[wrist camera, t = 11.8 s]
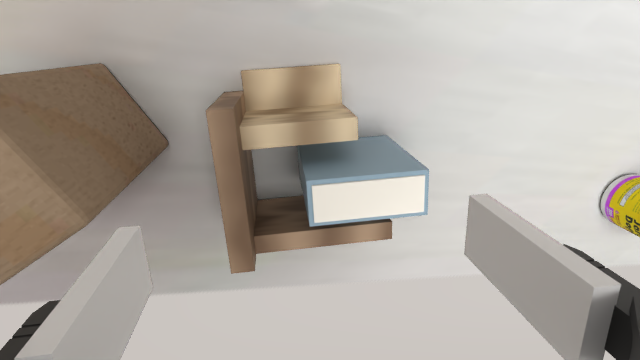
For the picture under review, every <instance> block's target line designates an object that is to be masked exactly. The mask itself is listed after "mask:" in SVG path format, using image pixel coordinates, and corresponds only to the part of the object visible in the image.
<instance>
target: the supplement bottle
mask: <svg viewBox="0 0 640 360" xmlns="http://www.w3.org/2000/svg"><path fill="white" fill-rule="evenodd" d="M601 210H602V213H603V215H604V216H605V217H606V218H607V219H608V220H609V221H611V222H613V223H614V224H616V225H618V226H620V227H622V228H624V229H625V230H627V231H629V232H631V233H633V234H635V235H637V236H639V237H640V175H637V174H630V175H625V176H622V177H620V178H618V179H616V180H615V181H614V182H612V183H611V184H610V185H609V186H608V187H607V189H606V190H605V192H604V194H603V196H602V199H601Z"/></svg>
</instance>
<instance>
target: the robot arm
mask: <svg viewBox="0 0 640 360" xmlns="http://www.w3.org/2000/svg"><path fill="white" fill-rule="evenodd" d="M464 254H465V255H466V256H467V257H468V259H469V260H470V261H471V262H472V263H473V264H474V265H475V266H476V267H477V268H478V269H479V270H480V271H481V272H482V273H483V274H484V275H485V276H486V277H487V279H488V280H489V281H490V282H491V283H492V284H493V285H494V286H495V287H496V288H497V289H498V290H499V291H500V292H501V293H502V294H503V295H504V296H505V297H506V298H507V299H508V301H509V302H510V303H511V304H512V305H513V306H514V307H515V308H516V309H517V310H518V311H519V312H520V313H521V314H522V315H523V316H524V317H525V318H526V320H527V321H528V322H529V323H530V324H531V325H532V326H533V327H534V328H535V329H536V330H537V331H538V332H539V333H540V334H541V335H542V336H543V337H544V338H545V339H546V340H547V341H548V343H549V344H550V345H551V346H552V347H553V348H554V349H555V350H556V351H557V352H558V353H559V354H560V355H561V356H562V357H563V358H564V359H565V360H603V357H604V353H605V350H606V351H607V352H609V353H610V354H611V355H612V356H613V357H614V358H616V360H640V289H639V288H637V287H635V286H634V285H632V284H631V283H629V282H628V281H626V280H625V279H623V278H622V277H620V276H619V275H617V274H616V273H614V272H613V271H611V270H610V269H608V268H605V266H603V265H602V264H600V263H599V262H597V261H594V259H593V258H591V257H590V256H588V255H587V254H585V253H584V252H582V251H580V250H577V249H575V248H572V247H570V246H568V245H565V244H564V245H562V244H561V243H559V242H558V241H556V240H555V239H553V238H552V237H550V236H549V235H547V234H546V233H544V232H543V231H541V230H540V229H538V228H537V227H535V226H534V225H532V224H531V223H529V222H528V221H527V220H525V219H524V218H522V217H521V216H519V215H518V214H516V213H515V212H513V211H512V210H510V209H509V208H507V207H506V206H504V205H503V204H501V203H500V202H498V201H497V200H495V199H494V198H492V197H491V196H489V195H488V194H479V195H469V206H468V218H467V229H466V240H465V252H464ZM152 289H153V285H152V280H151V275H150V270H149V266H148V261H147V256H146V251H145V247H144V242H143V237H142V232H141V228H140V225H139V226H128V227H119V228H118V229H117V230H116V231H115V233H114V234H113V235H112V236H111V238H110V239H109V240H108V242H107V243H106V244H105V245H104V247H103V248H102V249H101V250H100V252H99V253H98V254H97V255H96V257H95V258H94V259H93V260H92V262H91V263H90V264H89V265H88V267H87V268H86V269H85V270H84V272H83V273H82V274H81V275H80V277H79V278H78V279H77V280H76V282H75V283H74V284H73V285H72V287H71V288H70V289H69V290H68V292H67V293H66V294H65V296H64V297H63V298H62V299H61V300H57V301H49V302H48V303H46V304H45V305H43V306H42V307H41V308H39V309H38V310H36V311H35V312H33V313H32V314H31V315H30V317H29V318H28V319H27V320H26V321H25V323H24V324H23V325H22V328H19V329H18V331H17V332H16V333H15V334H14V335H13V338H12V339H10V340H9V341H8V342H7V343H6V345H5V346H4V347H3V348H2V349H1V350H0V360H120V359H121V357H122V355H123V352H124V350H125V348H126V346H127V344H128V341H129V339H130V337H131V335H132V332H133V331H134V328H135V326H136V324H137V322H138V320H139V317H140V315H141V313H142V311H143V309H144V307H145V304H146V302H147V300H148V298H149V296H150V293H151V291H152Z"/></svg>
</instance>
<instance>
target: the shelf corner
mask: <svg viewBox="0 0 640 360" xmlns="http://www.w3.org/2000/svg"><path fill="white" fill-rule="evenodd" d="M245 112H246V108H245V100H244V92H243V91H233V92H224V93H223V94H222V95H221V96H220V97H219V98H218V99H217V100H216V101H215V102H214V103H213V104H212V105H211V106H210V107H209V108H208V109H207V110H206V116H207V122H208V129H209V135H210V141H211V148H212V154H213V160H214V167H215V173H216V180H217V186H218V192H219V199H220V205H221V211H222V218H223V224H224V230H225V237H226V243H227V249H228V256H229V262H230V268H231V274H232V273H241V272H250V271H255V261H256V254H258V253H267V252H276V251H285V250H294V249H303V248H312V247H321V246H330V245H339V244H348V243H357V242H367V241H376V240H385V239H392V221H391V220H390V218H389V219H380V220H370V221H360V222H350V223H341V224H331V225H321V226H312V227H310V226H309V221H308V216H307V211H306V206H305V201H304V196H294V197H284V198H274V199H264V200H257V192H256V184H255V176H254V168H253V160H252V152H251V150H242V142H241V134H240V125H241V122H242V120H243V117H244V115H245Z"/></svg>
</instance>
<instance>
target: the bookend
mask: <svg viewBox="0 0 640 360" xmlns="http://www.w3.org/2000/svg"><path fill="white" fill-rule="evenodd" d="M241 76H242V84H243V92H244V100H245V108H246V112H245V115H244V117H243V120H242V122H241V125H240V134H241V142H242V150H251V149H262V148H274V147H285V146H296V145H308V144H319V143H331V142H342V141H353V140H358V118H357V116H355V115H354V114H353V113H352V112H351V111H350V110H349V109H347V108H346V107H345V106H344V105H343V104H342V96H341V73H340V64H328V65H314V66H300V67H286V68H272V69H258V70H244V71H241Z"/></svg>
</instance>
